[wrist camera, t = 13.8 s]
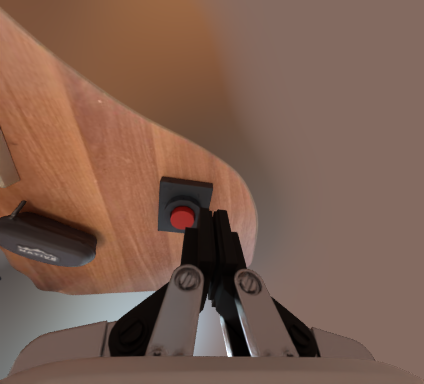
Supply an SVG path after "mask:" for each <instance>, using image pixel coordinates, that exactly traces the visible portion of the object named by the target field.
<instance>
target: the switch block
mask: <svg viewBox="0 0 424 384" xmlns="http://www.w3.org/2000/svg"><path fill="white" fill-rule="evenodd" d="M212 191H213V184H212V183H205V182H198V181H190V180H183V179H176V178H169V177H162V178H161V180H160V191H159V214H158V231H167V232H177V233H185V229H177V228H175V227H174V226H173V225H172V224H171V221H170V219H171V215H172V211H173V210H174V209H175V208H176V207H179V206H187V207H189V208H191V209H192V210H193V212H194V223H193V225H192V226H191V228H196V226H197V221H198V215H199V210H200V207H202V208H209V206H210V201H211V196H212Z"/></svg>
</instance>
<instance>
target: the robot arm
mask: <svg viewBox="0 0 424 384" xmlns="http://www.w3.org/2000/svg"><path fill="white" fill-rule="evenodd" d="M207 294H208V300H212V307H216V311H217V312H218V313H219V314H220V321H221V326H222V330H223V335H224V340H225V344H226V349H227V353H228V357H215V356H214V357H210V356H205V357H204V356H203V357H202V356H193V352H194V345H195V338H196V332H197V325H198V318H199V313H200V312H201V311H202V310H203V308H204V304H205V301H206V298H207ZM0 384H424V380H423V379H421V378H420V377H418V376H416V375H414V374H411V373H410V372H407V371H405V370H403V369H400V368H398V367H396V366H393V365H390V364H386V363H383V362H378V361H375V359H374V357H373V356H372V354H371V353H370V352H369V351H368V350H367V349H366V347H364V346H363V345H362V344H361V343H359V342H357V341H355V340H353V339H350V338H347V337H343V336H340V335H337V334H334V333H330V332H327V331H324V330H321V329H317V328H314V327H312V328H311V329H309V328H308V327H307V326H306V325H305V324H304V323H303V322H301V321H300V320H299V319H298V318H297V317H295V316H294V315H293V314H292V313H290V312H289V311H288V310H287V309H286V308H285V307H283V306H282V305H281V304H280V303H278V302H277V301H276V300H275V299H274V298H272V297H271V296H270V294H269V292H268V290H267V288H266V286H265V284H264V281H263V280H262V278H261V277H260V276H259V275H258V274H257V273H256V272H254V271H253V270H250V269H247V267H246V263H245V259H244V256H243V252H242V248H241V244H240V240H239V236H238V233H237V232H231V228H230V224H229V219H228V214H227V211H226V210H219V209H218V210H217V212H216V211H214V213H213V217H212V211H209V208H202V207H200V210H199V215H198V221H197V226H196V228H191V227H185V233H184V241H183V248H182V257H181V265H180V266H179V267H177V268H176V269H175V270H174V272H173V274H172V276H171V279H170V281H169V282H168V283H167V284H165V285H164V286H163V287H161V288H160V289H159V290H157V291H156V292H155V293H153V294H152V295H151V296H149V297H148V298H147V299H145V300H144V301H142V302H141V303H140V304H138V305H137V306H136V307H134V308H133V309H132V310H130V311H129V312H128V313H127V314H125V315H124V316H123V317H121V318H120V319H119V320H118V321H114V322H109V323H108V322H107V321H103V322H97V323H93V324H88V325H83V326H78V327H74V328H69V329H64V330H59V331H54V332H50V333H47V334H44V335H41V336H39V337H37V338H36V339H34V340H33V341H31V342H30V343H29V344H28V345H27V346H26V347H25V348H24V349H23V350H22V351H21V352H20V354H19V355H18V357H17V358H16V360H15V362H14V364H13V366H12V368H11V370H10V372H9V374H8V376H7V377H6V378H4V379H2V380H0Z"/></svg>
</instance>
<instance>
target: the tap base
mask: <svg viewBox="0 0 424 384" xmlns="http://www.w3.org/2000/svg"><path fill="white" fill-rule="evenodd" d="M18 181H20V179H19V176H18V173H17V171H16V168H15V165H14V163H13V160H12V157H11V155H10V152H9V149H8V147H7V144H6V142H5V139H4V136H3V134H2V131H1V128H0V187H2V188H6V187H8V186H10V185H12V184H14V183H16V182H18Z"/></svg>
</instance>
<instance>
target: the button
mask: <svg viewBox="0 0 424 384" xmlns="http://www.w3.org/2000/svg"><path fill="white" fill-rule="evenodd" d="M170 221H171V224H172V225H173V226H174V227H175V228H177V229H185V227H191V226H192V225H193V223H194V212H193V210H192V209H191V208H189V207H187V206H179V207H176V208H175V209H174V210H173V211H172V215H171V219H170Z"/></svg>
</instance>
